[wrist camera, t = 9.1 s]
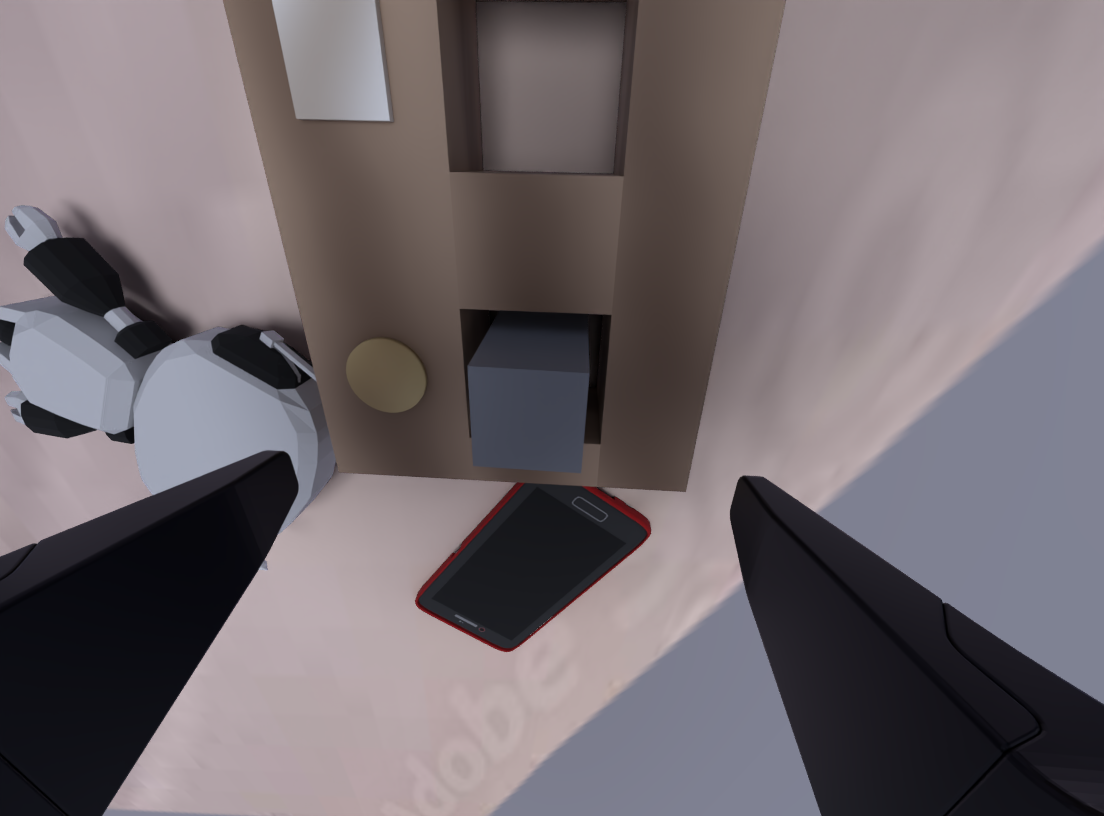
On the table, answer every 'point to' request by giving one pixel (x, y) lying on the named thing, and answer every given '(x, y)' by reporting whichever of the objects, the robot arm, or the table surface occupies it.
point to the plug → (530, 392)
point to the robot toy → (153, 375)
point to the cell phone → (531, 561)
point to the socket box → (502, 222)
